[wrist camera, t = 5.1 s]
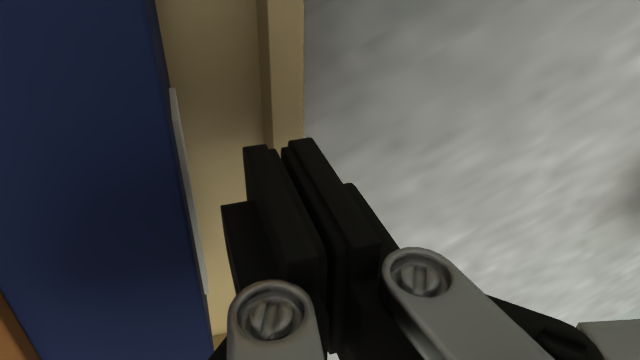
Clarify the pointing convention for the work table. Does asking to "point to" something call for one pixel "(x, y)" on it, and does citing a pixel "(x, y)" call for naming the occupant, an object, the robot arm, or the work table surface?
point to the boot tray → (231, 106)
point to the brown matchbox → (95, 189)
